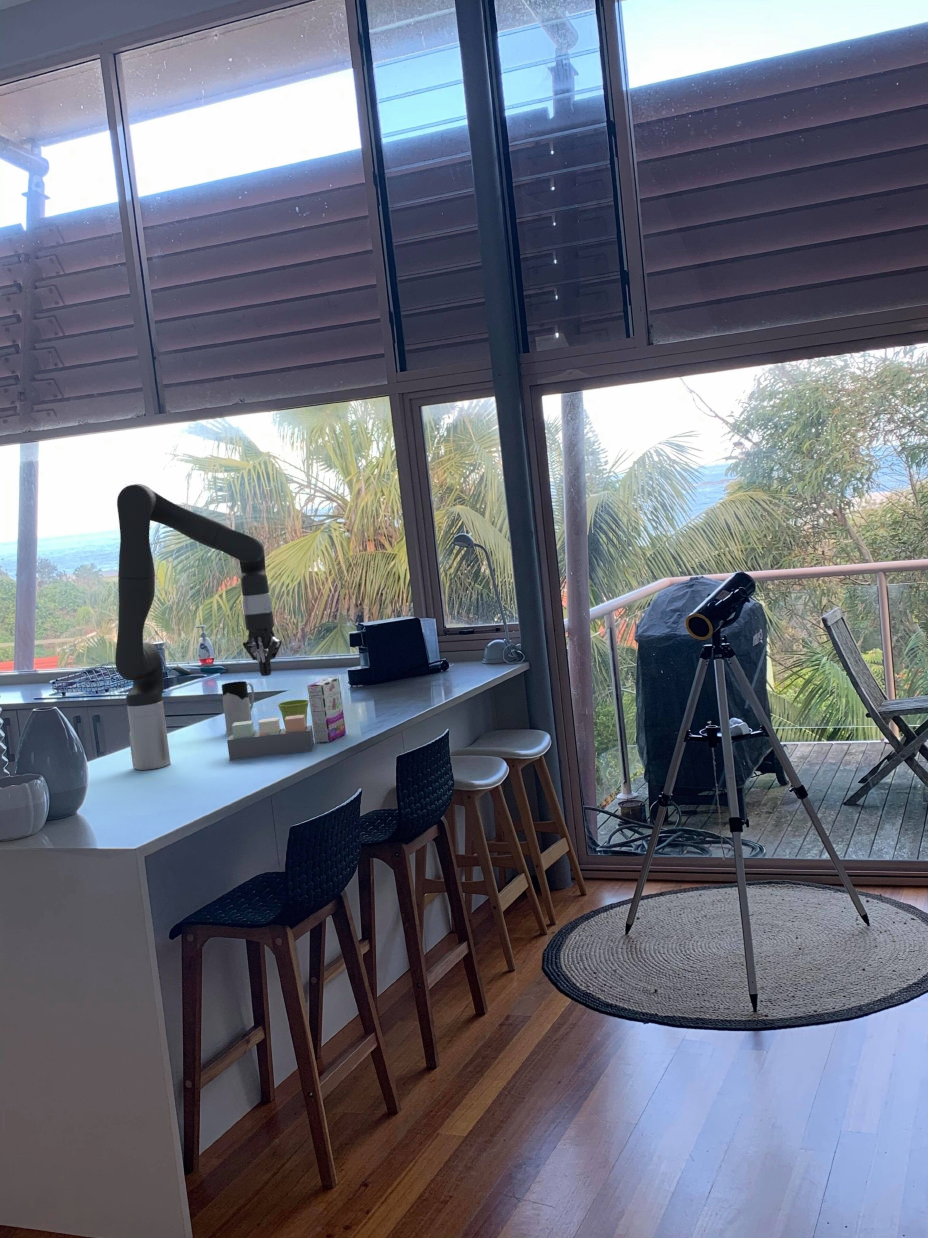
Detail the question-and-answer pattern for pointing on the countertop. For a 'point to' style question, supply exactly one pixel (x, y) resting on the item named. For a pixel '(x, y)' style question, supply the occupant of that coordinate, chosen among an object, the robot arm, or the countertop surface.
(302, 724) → the key terracotta
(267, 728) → the key sand
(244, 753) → the grey long block
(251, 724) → the key sage
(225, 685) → the pitcher
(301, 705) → the plant pot
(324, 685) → the candy bar box
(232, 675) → the countertop surface
